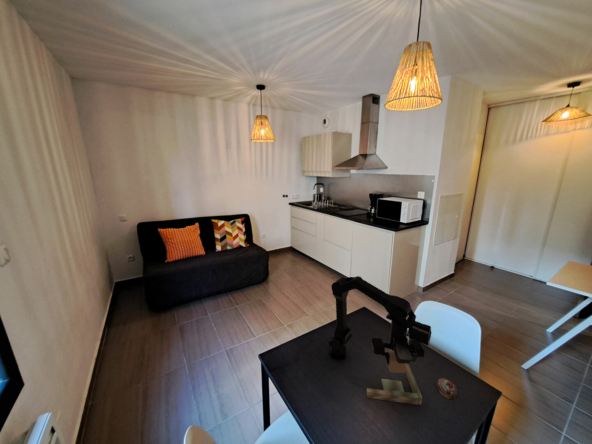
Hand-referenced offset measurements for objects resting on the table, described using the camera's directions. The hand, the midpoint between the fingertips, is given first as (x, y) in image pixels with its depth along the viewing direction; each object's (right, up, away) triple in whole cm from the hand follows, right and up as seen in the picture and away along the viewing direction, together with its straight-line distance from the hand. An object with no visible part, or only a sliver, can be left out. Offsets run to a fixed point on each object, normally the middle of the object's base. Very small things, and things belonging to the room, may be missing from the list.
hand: (395, 364), depth 89 cm
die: (+12, -7, +21) cm, 25 cm away
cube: (0, -1, 0) cm, 1 cm away
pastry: (+22, -12, +2) cm, 25 cm away
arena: (0, -10, +6) cm, 12 cm away
